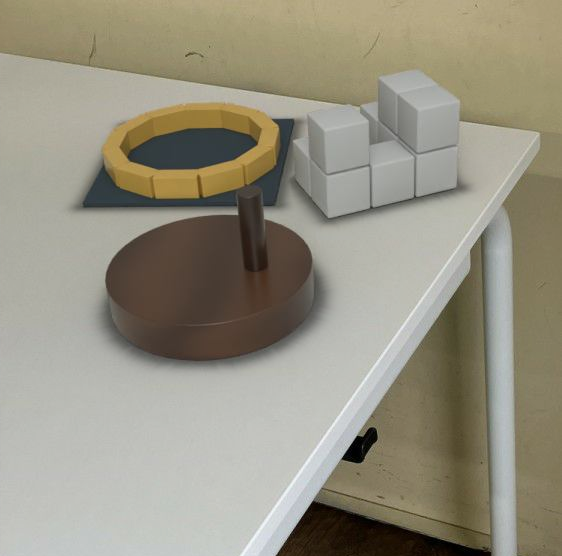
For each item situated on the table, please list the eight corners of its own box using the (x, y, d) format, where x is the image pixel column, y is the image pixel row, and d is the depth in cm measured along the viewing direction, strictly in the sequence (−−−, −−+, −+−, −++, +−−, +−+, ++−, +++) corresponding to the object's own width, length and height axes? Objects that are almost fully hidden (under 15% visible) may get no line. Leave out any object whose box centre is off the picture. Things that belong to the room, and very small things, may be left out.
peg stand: (89, 359, 71) (63, 248, 65) (136, 247, 82) (118, 145, 77) (304, 361, 69) (297, 247, 63) (322, 246, 80) (316, 142, 75)
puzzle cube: (397, 135, 96) (398, 53, 91) (457, 188, 87) (461, 100, 82) (279, 161, 93) (273, 78, 88) (328, 219, 84) (324, 130, 79)
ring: (88, 199, 89) (84, 178, 88) (129, 123, 101) (126, 104, 100) (268, 197, 87) (266, 176, 86) (287, 120, 99) (286, 100, 98)
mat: (83, 206, 89) (82, 202, 88) (127, 125, 102) (126, 121, 102) (274, 205, 86) (274, 201, 86) (294, 122, 100) (293, 118, 99)
